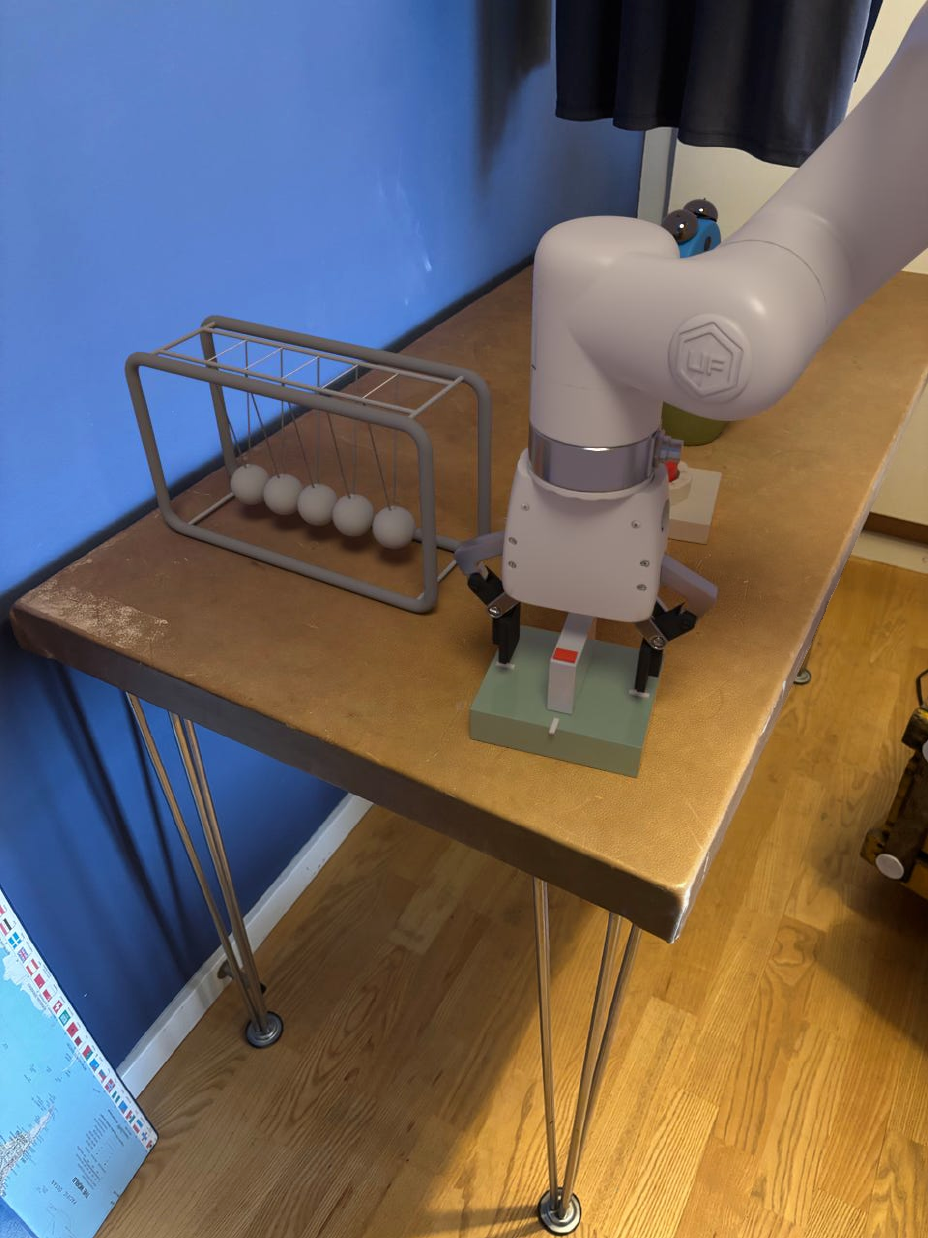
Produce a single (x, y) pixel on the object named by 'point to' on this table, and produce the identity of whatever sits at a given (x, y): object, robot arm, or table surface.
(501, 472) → the table surface
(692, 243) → the alarm clock
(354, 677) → the table surface
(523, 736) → the panel
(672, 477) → the button
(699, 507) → the button block
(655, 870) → the table surface
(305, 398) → the newton's cradle
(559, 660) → the tap handle
